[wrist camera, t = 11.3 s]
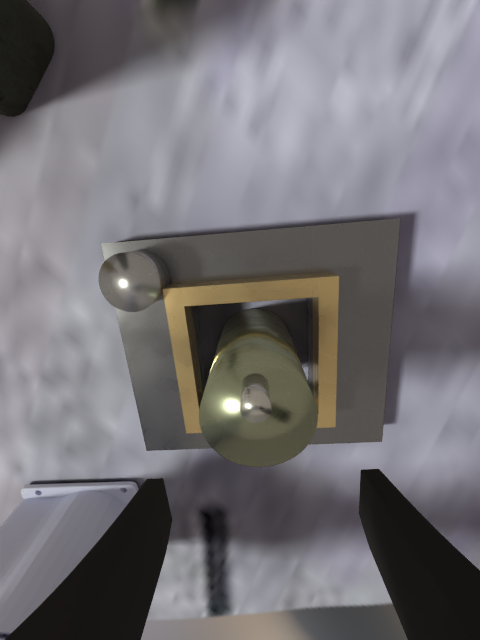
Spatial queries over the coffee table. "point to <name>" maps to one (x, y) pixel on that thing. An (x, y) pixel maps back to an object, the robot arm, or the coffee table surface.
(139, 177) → the coffee table surface
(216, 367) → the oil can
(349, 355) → the square peg board
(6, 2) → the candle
